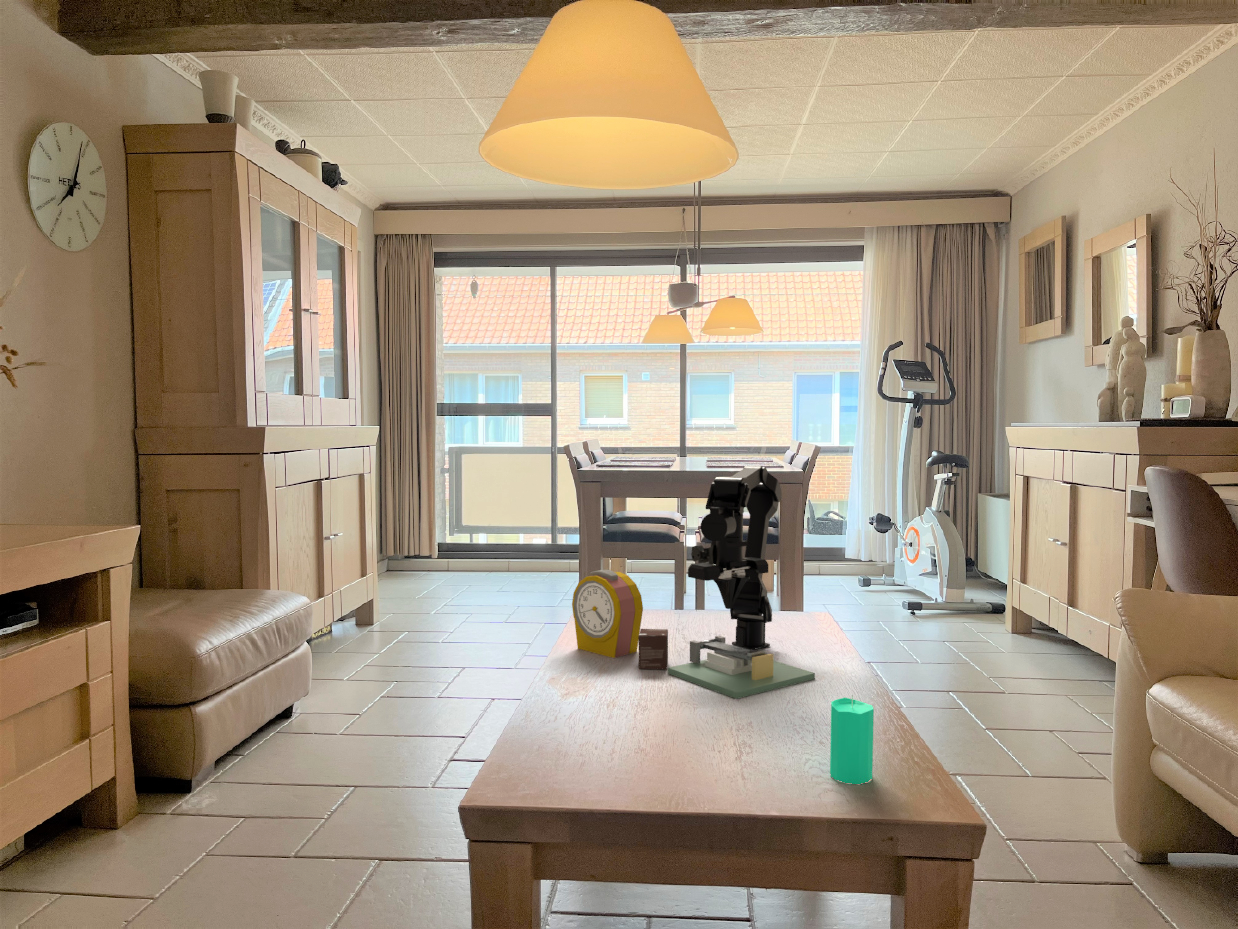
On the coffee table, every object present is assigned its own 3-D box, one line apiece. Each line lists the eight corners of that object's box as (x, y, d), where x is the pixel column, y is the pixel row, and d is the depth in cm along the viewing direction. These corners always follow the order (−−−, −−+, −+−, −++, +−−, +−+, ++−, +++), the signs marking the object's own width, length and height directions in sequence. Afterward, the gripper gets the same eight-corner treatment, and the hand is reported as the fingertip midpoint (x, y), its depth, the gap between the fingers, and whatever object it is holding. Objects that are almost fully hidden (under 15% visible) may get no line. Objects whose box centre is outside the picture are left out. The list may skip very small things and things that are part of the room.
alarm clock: (570, 647, 192) (570, 568, 191) (595, 641, 198) (595, 564, 197) (617, 660, 182) (618, 576, 181) (642, 653, 188) (643, 571, 187)
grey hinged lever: (713, 645, 181) (713, 636, 181) (767, 659, 168) (767, 649, 168) (696, 648, 178) (696, 639, 178) (749, 663, 165) (749, 653, 165)
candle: (823, 768, 124) (825, 688, 124) (863, 767, 125) (864, 688, 124) (837, 785, 118) (839, 701, 118) (879, 784, 119) (880, 701, 118)
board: (741, 655, 186) (741, 631, 186) (814, 678, 169) (815, 652, 169) (664, 672, 173) (665, 645, 173) (736, 698, 156) (736, 669, 156)
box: (668, 662, 180) (668, 629, 180) (667, 670, 174) (667, 635, 174) (640, 661, 181) (640, 628, 181) (638, 669, 175) (638, 635, 175)
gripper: (734, 529, 190) (733, 597, 191) (671, 534, 179) (670, 607, 180) (770, 534, 181) (769, 605, 182) (706, 540, 170) (705, 616, 171)
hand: (728, 608), depth 179 cm, fingers closed
